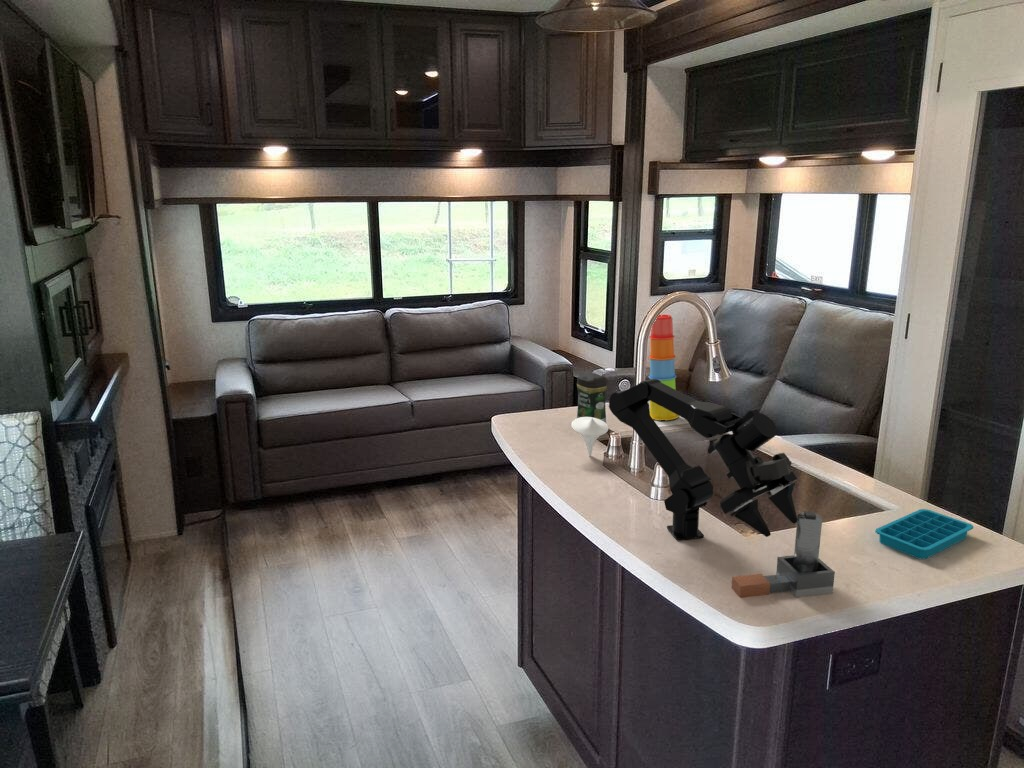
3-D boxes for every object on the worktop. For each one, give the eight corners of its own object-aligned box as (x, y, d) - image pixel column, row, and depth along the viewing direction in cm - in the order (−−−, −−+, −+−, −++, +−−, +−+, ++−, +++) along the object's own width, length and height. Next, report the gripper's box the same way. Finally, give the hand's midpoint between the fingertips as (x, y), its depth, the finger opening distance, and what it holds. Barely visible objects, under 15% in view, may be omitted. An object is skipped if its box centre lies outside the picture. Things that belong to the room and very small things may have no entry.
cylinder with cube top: (790, 571, 148) (795, 507, 145) (813, 573, 148) (819, 509, 144) (794, 583, 144) (800, 517, 141) (818, 584, 143) (825, 518, 140)
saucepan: (727, 582, 148) (728, 562, 147) (811, 573, 150) (812, 553, 149) (744, 603, 140) (746, 581, 139) (832, 593, 143) (834, 571, 142)
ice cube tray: (974, 538, 164) (976, 525, 164) (923, 564, 154) (925, 551, 153) (921, 519, 174) (923, 507, 173) (871, 543, 163) (872, 530, 162)
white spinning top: (614, 458, 216) (615, 419, 213) (581, 464, 212) (581, 424, 209) (597, 447, 225) (597, 409, 222) (565, 452, 221) (565, 414, 218)
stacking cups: (657, 422, 247) (660, 319, 238) (642, 414, 256) (644, 314, 247) (684, 419, 250) (688, 317, 241) (668, 410, 259) (671, 312, 250)
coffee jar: (572, 427, 244) (572, 372, 239) (591, 422, 248) (591, 368, 244) (591, 435, 236) (591, 378, 232) (610, 430, 240) (611, 374, 236)
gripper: (736, 453, 142) (783, 526, 137) (793, 432, 153) (838, 499, 147) (701, 479, 150) (743, 549, 145) (757, 457, 161) (798, 522, 156)
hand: (782, 529), depth 148 cm, fingers open, 9 cm apart
